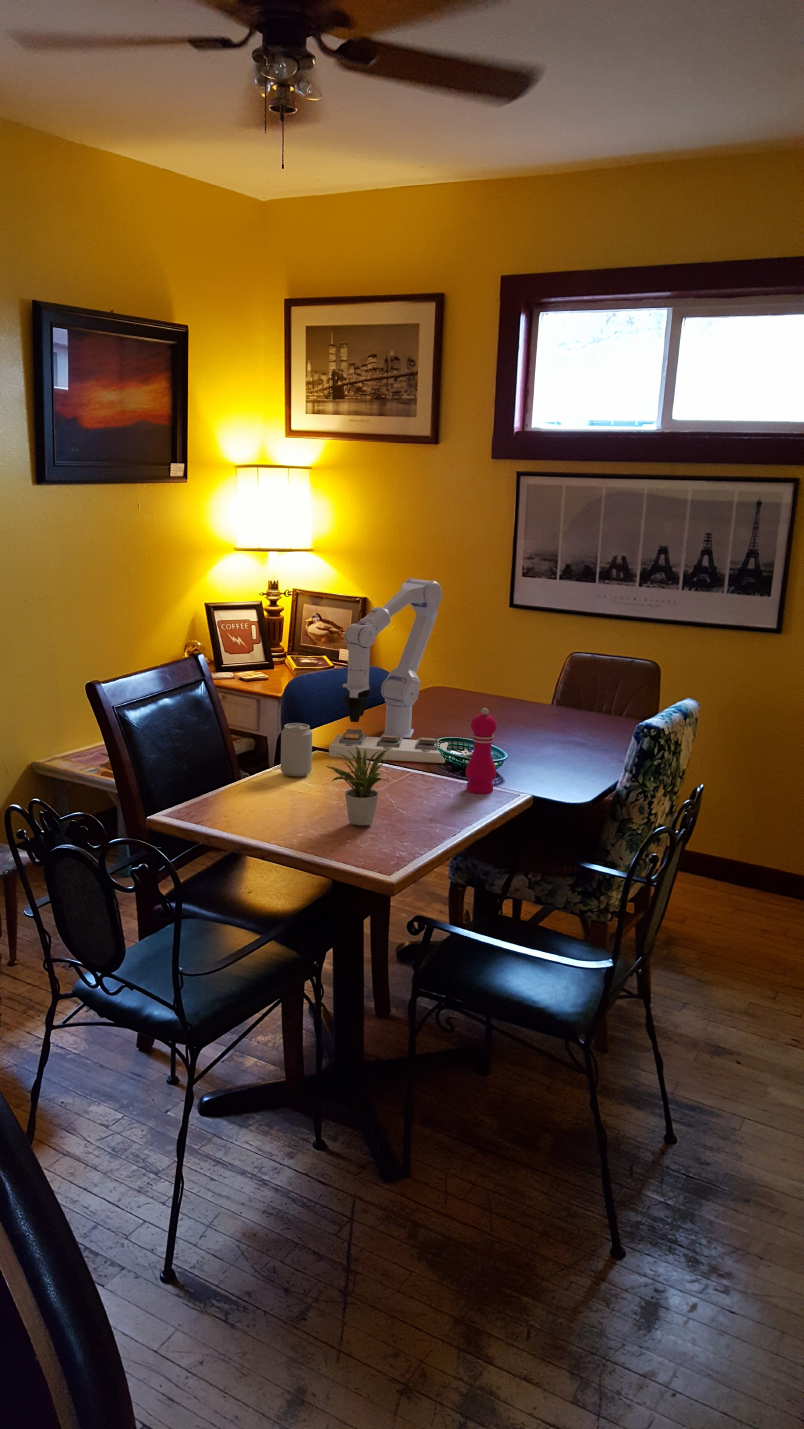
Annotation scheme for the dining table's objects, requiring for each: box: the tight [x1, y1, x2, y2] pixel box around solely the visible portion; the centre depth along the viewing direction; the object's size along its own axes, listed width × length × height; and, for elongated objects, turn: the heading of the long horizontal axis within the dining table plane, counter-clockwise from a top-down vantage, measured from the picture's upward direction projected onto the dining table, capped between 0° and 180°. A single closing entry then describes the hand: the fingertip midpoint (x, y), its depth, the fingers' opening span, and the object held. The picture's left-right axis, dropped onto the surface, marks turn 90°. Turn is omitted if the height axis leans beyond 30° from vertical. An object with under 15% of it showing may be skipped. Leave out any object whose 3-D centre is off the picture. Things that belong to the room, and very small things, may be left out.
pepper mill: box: [465, 707, 498, 795], centre depth 239 cm, size 7×7×20 cm
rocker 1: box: [344, 728, 363, 741], centre depth 270 cm, size 6×4×1 cm, turn 173°
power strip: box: [328, 732, 449, 764], centre depth 268 cm, size 12×42×4 cm, turn 83°
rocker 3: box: [419, 737, 437, 744], centre depth 268 cm, size 6×4×1 cm, turn 173°
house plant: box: [325, 745, 392, 826], centre depth 215 cm, size 14×14×16 cm
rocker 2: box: [380, 735, 399, 742], centre depth 269 cm, size 6×4×1 cm, turn 173°
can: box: [280, 722, 313, 777], centre depth 248 cm, size 8×8×12 cm
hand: (356, 718), depth 275 cm, fingers open, 7 cm apart
